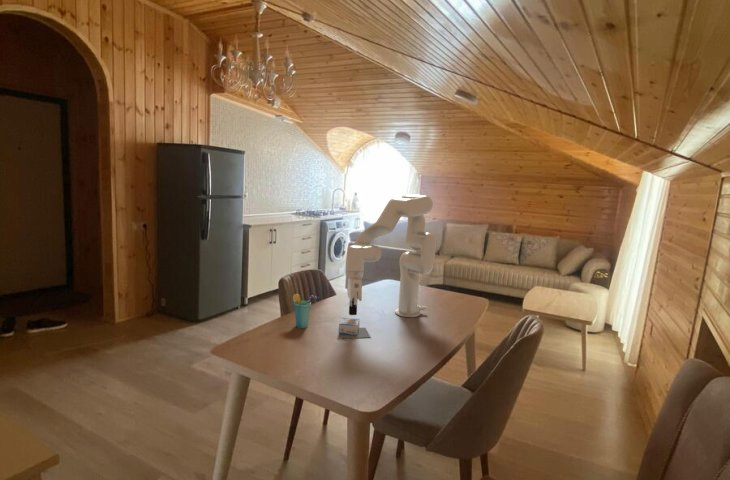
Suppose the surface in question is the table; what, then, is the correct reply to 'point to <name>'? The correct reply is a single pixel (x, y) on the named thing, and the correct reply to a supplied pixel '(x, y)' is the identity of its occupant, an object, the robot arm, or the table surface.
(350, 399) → the table surface
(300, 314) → the cup
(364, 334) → the mat
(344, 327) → the medicine box
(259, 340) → the table surface
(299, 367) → the table surface
